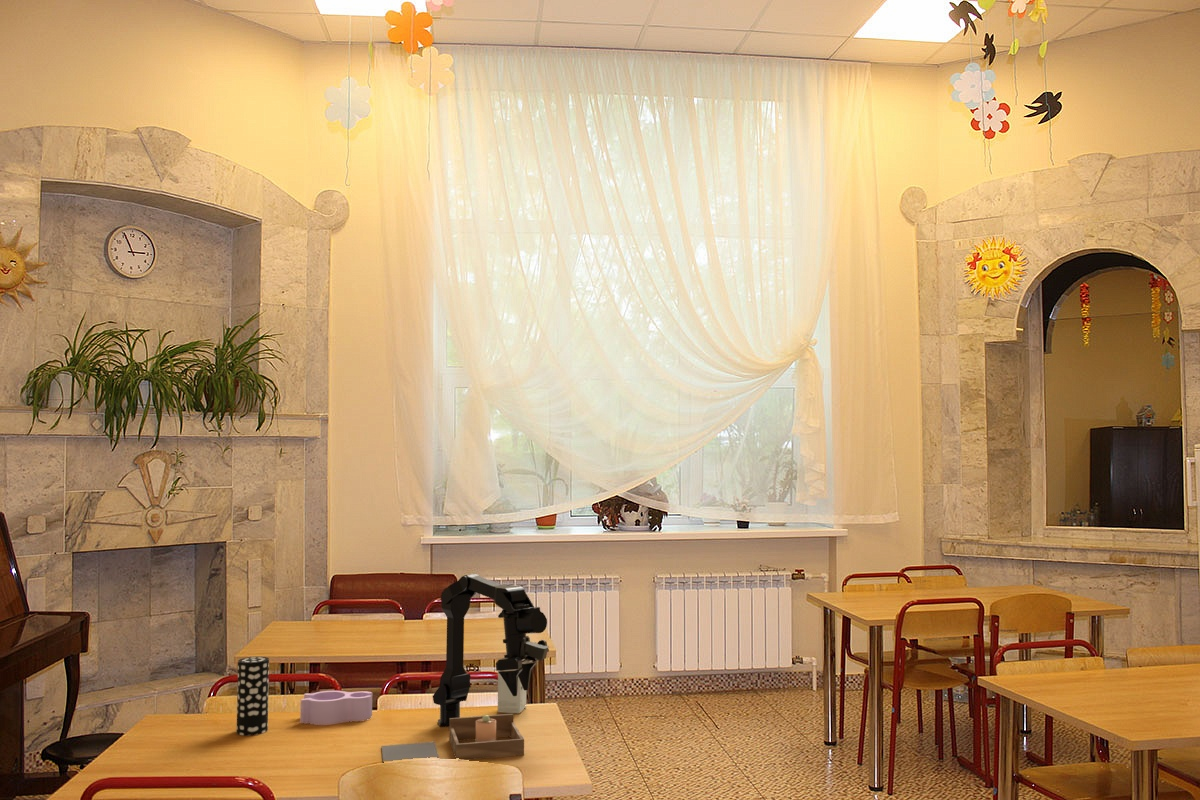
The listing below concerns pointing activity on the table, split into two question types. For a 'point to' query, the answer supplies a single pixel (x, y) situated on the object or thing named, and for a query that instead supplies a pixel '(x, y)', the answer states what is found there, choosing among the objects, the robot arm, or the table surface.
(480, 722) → the terracotta pot
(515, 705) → the supplement box
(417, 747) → the mat
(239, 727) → the white-spotted black cylinder
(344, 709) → the lavender two-hole holder
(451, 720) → the frame
